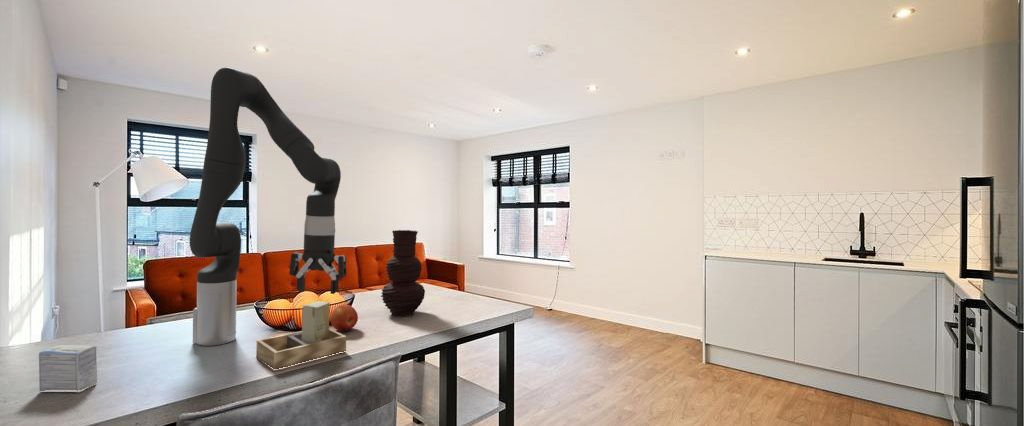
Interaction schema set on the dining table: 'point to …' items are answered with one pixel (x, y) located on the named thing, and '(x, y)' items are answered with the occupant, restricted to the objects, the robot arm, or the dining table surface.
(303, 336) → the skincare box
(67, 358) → the grey striped block
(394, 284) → the vase
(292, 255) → the robot arm
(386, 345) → the dining table surface
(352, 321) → the apple
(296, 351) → the walled box
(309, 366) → the dining table surface
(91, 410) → the dining table surface
